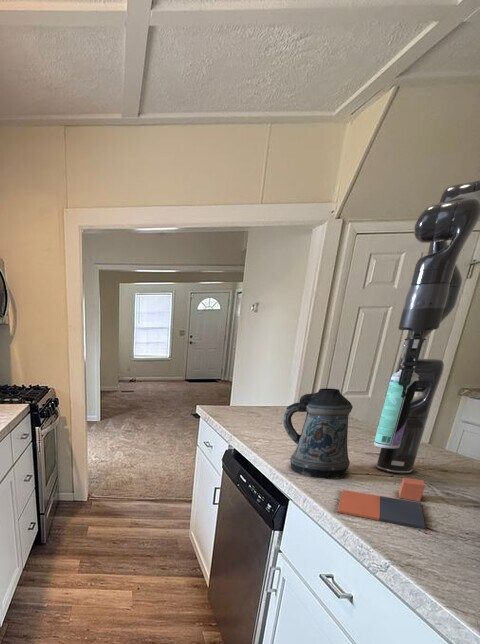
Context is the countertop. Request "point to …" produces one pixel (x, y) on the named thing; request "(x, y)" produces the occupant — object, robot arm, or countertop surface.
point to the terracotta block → (411, 489)
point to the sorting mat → (382, 509)
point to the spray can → (395, 412)
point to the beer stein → (320, 434)
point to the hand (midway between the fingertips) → (403, 383)
